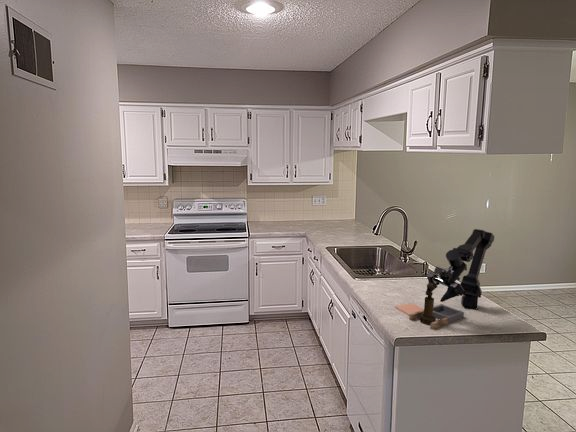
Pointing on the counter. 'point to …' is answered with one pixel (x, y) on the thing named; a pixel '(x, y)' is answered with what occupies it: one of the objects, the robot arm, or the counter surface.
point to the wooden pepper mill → (428, 307)
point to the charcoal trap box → (447, 313)
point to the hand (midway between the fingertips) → (433, 297)
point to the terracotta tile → (409, 308)
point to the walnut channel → (433, 324)
